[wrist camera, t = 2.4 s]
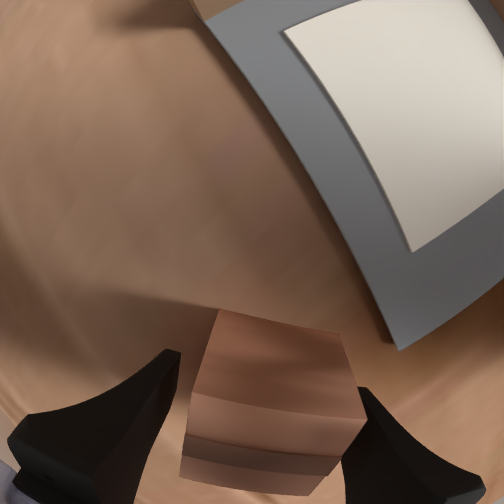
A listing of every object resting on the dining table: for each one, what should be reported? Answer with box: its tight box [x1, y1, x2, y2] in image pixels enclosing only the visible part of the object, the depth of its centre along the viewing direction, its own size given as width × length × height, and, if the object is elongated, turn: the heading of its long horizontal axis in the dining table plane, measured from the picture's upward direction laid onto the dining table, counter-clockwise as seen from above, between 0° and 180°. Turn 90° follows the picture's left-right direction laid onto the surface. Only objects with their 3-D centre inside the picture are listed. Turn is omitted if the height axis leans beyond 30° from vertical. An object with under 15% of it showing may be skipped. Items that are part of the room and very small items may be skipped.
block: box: [179, 309, 368, 496], centre depth 10 cm, size 5×5×5 cm
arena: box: [188, 0, 504, 351], centre depth 7 cm, size 16×14×4 cm
